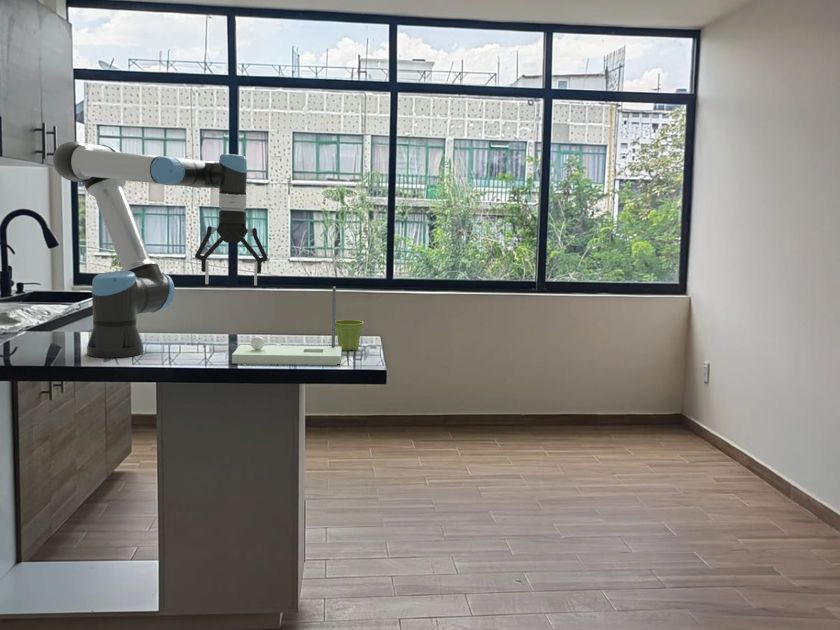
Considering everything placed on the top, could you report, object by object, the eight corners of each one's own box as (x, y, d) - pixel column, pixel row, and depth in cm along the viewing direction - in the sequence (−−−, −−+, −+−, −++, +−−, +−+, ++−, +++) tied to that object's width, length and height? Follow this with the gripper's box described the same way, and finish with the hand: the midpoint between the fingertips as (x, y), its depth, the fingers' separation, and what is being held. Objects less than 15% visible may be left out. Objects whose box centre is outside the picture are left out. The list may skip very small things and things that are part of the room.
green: (232, 363, 212) (232, 289, 210) (242, 350, 232) (242, 283, 229) (340, 364, 215) (341, 292, 213) (341, 352, 234) (342, 285, 232)
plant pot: (355, 352, 235) (356, 324, 234) (328, 350, 238) (328, 322, 237) (368, 348, 244) (368, 321, 243) (341, 345, 247) (341, 319, 246)
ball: (249, 350, 218) (249, 337, 218) (251, 348, 222) (251, 334, 222) (263, 351, 219) (263, 337, 218) (265, 348, 223) (265, 335, 222)
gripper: (185, 207, 211) (185, 284, 214) (277, 212, 217) (275, 286, 219) (187, 207, 218) (187, 281, 221) (276, 211, 224) (274, 284, 227)
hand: (231, 284), depth 220 cm, fingers open, 13 cm apart
